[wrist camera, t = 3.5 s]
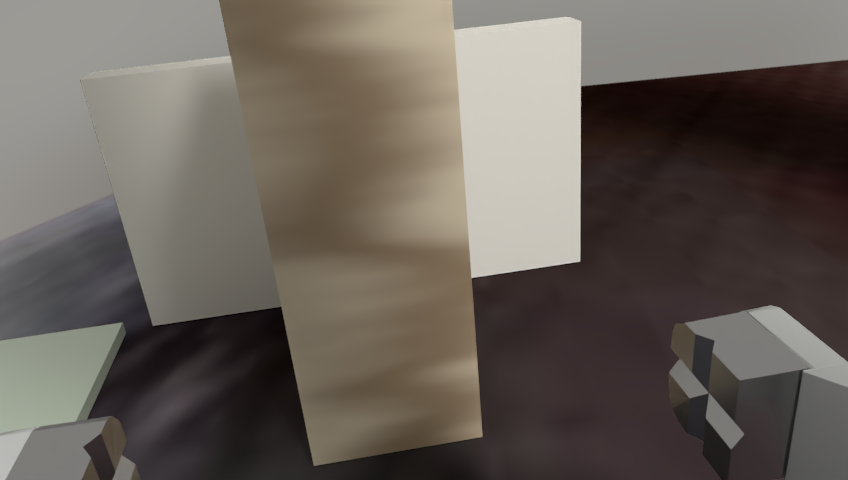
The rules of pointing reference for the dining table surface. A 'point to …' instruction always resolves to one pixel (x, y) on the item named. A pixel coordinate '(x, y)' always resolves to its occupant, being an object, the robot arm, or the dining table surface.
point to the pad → (54, 375)
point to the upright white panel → (237, 190)
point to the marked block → (364, 214)
